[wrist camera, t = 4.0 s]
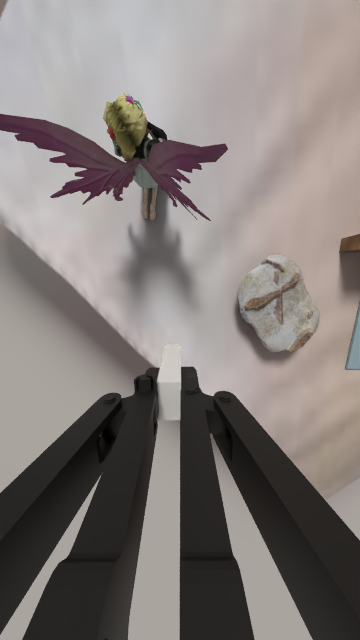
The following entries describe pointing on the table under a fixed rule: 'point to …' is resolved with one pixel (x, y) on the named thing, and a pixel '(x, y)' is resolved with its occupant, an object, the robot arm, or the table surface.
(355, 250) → the corner walls
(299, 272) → the stone
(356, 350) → the mat
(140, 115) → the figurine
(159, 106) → the table surface
